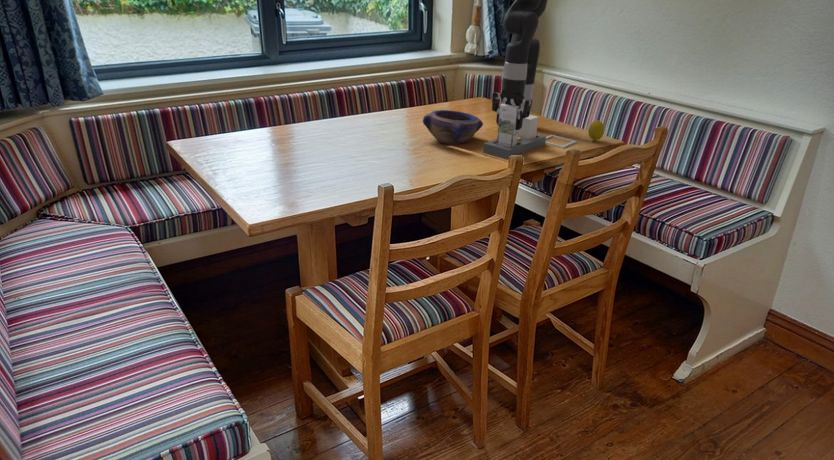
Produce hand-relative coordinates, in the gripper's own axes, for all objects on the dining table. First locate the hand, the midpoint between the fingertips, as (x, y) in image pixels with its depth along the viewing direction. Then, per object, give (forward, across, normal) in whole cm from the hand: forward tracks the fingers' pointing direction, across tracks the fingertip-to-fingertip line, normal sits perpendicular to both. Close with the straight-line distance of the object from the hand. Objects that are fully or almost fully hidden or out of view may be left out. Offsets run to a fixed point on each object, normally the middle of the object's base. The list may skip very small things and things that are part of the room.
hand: (508, 127), depth 203 cm
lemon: (+10, +14, +39) cm, 42 cm away
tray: (+9, +6, +24) cm, 26 cm away
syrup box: (+7, 0, 0) cm, 7 cm away
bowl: (+10, -21, -2) cm, 23 cm away
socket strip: (+9, 0, +6) cm, 11 cm away
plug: (+8, 0, +12) cm, 15 cm away
